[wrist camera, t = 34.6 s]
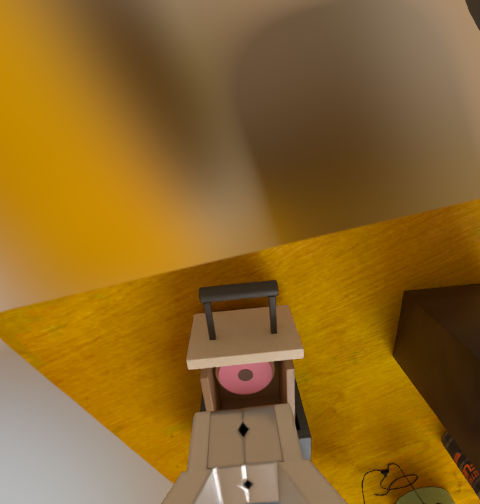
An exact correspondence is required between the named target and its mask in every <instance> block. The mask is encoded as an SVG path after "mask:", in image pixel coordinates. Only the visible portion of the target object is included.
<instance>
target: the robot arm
mask: <svg viewBox="0 0 480 504" xmlns="http://www.w3.org/2000/svg"><path fill="white" fill-rule="evenodd" d="M274 501H280V504H347V503H346V502H345V500H344V499H343V498H342V497H341V496H340V495H339V494H338V492H337V491H336V490H335V489H334V488H333V487H332V485H331V484H330V483H329V482H328V481H327V480H326V479H325V477H324V476H323V475H322V474H321V473H320V472H319V470H318V469H317V468H316V467H315V466H314V465H313V464H312V462H311V461H310V460H309V459H303V455H302V451H301V447H300V443H299V438H298V434H297V430H296V426H295V421H294V417H293V413H292V409H291V406H290V404H289V403H285V404H277V405H273V404H272V405H264V406H255V407H247V408H242V409H231V410H219V411H206V412H195V414H194V418H193V425H192V433H191V442H190V450H189V459H188V467H187V471H185V472H182V473H181V474H180V476H179V477H178V479H177V480H176V482H175V483H174V485H173V486H172V488H171V489H170V491H169V493H168V494H167V496H166V497H165V499H164V500H163V502H162V503H161V504H248V503H259V502H274Z"/></svg>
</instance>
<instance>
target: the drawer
mask: <svg viewBox="0 0 480 504" xmlns="http://www.w3.org/2000/svg"><path fill="white" fill-rule="evenodd" d="M277 295H278V285H277V281H276V280H271V281H261V282H251V283H241V284H231V285H221V286H211V287H201V288H200V289H199V298H200V302H201V303H203V304H204V310H205V313H201V314H194V318H193V324H192V330H191V336H190V341H189V347H188V353H187V359H186V362H187V366H188V370H192V369H201V370H200V383H201V388H202V393H203V398H204V403H205V408H206V411H219V410H231V409H242V408H247V407H255V406H264V405H272V404H273V405H277V404H285V403H289V404H290V406H291V409H292V413H293V417H294V421H295V379H294V366H293V362H292V359H301V358H303V346H302V343H301V340H300V337H299V334H298V332H297V329H296V326H295V323H294V320H293V317H292V314H291V312H290V309H289V306H288V305H281V306H276V296H277ZM267 296H268V297H269V307H261V308H251V309H241V310H231V311H221V312H212V308H211V302H217V301H227V300H237V299H247V298H257V297H267ZM271 361H274V365H275V374H274V377H273V379H272V380H271V382H270V383H269V384H268V385H267V386H266V387H265V388H264V389H262V390H260V391H258V392H255V393H252V394H236V393H233V392H230V391H228V390H227V389H225V388H224V387H223V386H222V385H221V384H220V383H219V381H218V380H217V378H216V367H222V366H231V365H241V364H251V363H261V362H271Z"/></svg>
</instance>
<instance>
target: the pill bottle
mask: <svg viewBox="0 0 480 504" xmlns="http://www.w3.org/2000/svg"><path fill="white" fill-rule="evenodd" d="M442 442H443V445H444V447H445V448H446V450H447V451H448V453H449V454H450V456H451V457H452V459H453V460H454V462H455V463H456V465H457V466H458V468H459V469H460V471H461V472H462V474H463V475H464V477H465V478H466V479H467V481H468V482H469V484H470V485H471V487H472V488H473V490H474V491H475V493H476V494H477V496H478V497H479V499H480V475H479V473H478V472H477V470H476V469H475V468H474V466H473V465H472V464H471V462H470V461H469V460H468V458H467V457H466V455H465V454H464V453H463V451H462V450H461V449H460V447H459V446H458V445H457V443H456V442H455V440H454V439H453V438H452V436H451V435H450V434H449V432H447V433H446V434H445V435H444V437H443V441H442Z"/></svg>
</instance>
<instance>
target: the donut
mask: <svg viewBox="0 0 480 504" xmlns="http://www.w3.org/2000/svg"><path fill="white" fill-rule="evenodd" d="M274 374H275V365H274V361H271V362H261V363H251V364H241V365H231V366H222V367H216V378H217V380H218V381H219V383H220V384H221V385H222V386H223V387H224V388H225V389H227V390H228V391H230V392H233V393H236V394H252V393H255V392H258V391H260V390H262V389H264V388H265V387H266V386H267V385H268V384H269V383H270V382H271V380H272V379H273V377H274Z"/></svg>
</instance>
